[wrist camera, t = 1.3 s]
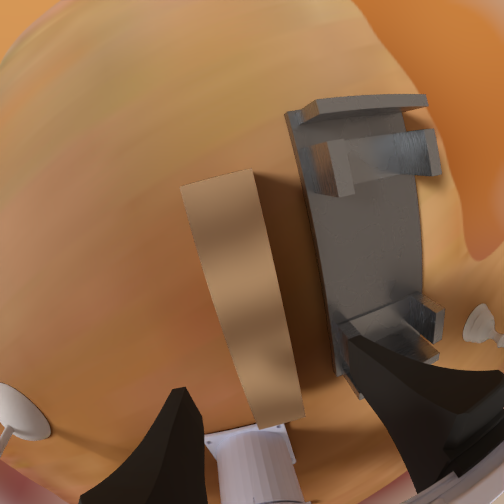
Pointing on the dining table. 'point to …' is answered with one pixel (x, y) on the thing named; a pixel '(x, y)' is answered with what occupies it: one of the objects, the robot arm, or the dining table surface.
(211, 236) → the rail
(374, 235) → the bracket board
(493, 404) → the robot arm
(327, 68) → the dining table surface
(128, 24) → the dining table surface
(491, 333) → the chalice
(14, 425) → the lamp
